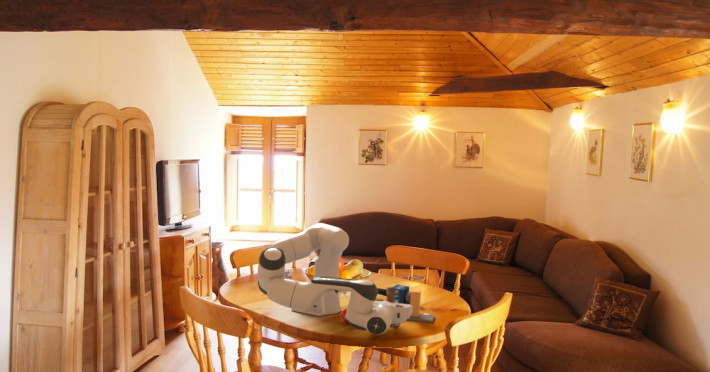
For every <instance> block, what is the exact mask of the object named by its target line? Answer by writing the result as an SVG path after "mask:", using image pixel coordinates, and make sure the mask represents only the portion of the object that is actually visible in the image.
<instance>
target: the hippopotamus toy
mask: <svg viewBox="0 0 710 372" xmlns="http://www.w3.org/2000/svg"><path fill="white" fill-rule="evenodd" d="M285 276H286V277H287V278H289V279H293V278H292V277H293V274H292V273H290V270H289V269H285Z"/></svg>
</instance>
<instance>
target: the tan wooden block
mask: <svg viewBox="0 0 710 372" xmlns="http://www.w3.org/2000/svg"><path fill="white" fill-rule="evenodd" d="M410 291H411V295H410V303H409V304H410V305H412V307H413V308H412V315H411V316H412V317H419V315H420V313H421V297H422V294H421V293H422V290H421V289H416V288H415V289H414V288H412V289H411V290H410Z"/></svg>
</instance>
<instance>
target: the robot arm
mask: <svg viewBox="0 0 710 372" xmlns="http://www.w3.org/2000/svg"><path fill="white" fill-rule="evenodd" d="M349 242H350V238H349V235H348V233H347V232H346V231H345V230H343V229H342V228H341V227H338V226H335V225H332V224H327V223H324V222H317V223H316V222H315V223H313V224H311V225H310V226H309V227H308V228H306V229H305V230H303V231H301V232H298V233H295V234H293V235H292V234H291V235H288V236H285V237H282V238H279V239H277V240H275V241H273V242H271V243H269V244H267V245H266V246H265V248H264V250H262V251H261V253H260V255H259V257H258V264H257V286H258V289H259V290H260V292H261V293H262V294H264V295H266V296H267V298H268V299H269V300H270V301H271V302H273V303H276V304H278V305H279V306H282V307H285V308H288V309H291V311H293V312H296V313H297V312H298V313H302V314H307V315H313V316H317V317H322V316H326V315H334V314H338V313H340V312H342V307H341V303H340V291H343V292H350V296H349V300H348V304H347V306H346V307H347V308H346V309H347V311H346V315H345V318H346V320H347V324H349V325H350V326H351V327H352V328H354V329H356V330H359V331H364V332H365V331H367V332H369V334H371V335H374V336H380V335H383V334H384V333H386V332H387V331H388V330H389V328H390V327H391V326H390V325H391V324H395V323H399V324H405V323H406V322H407V320H406V319H408V318H410V316H411V315H412V308H413V307H412V305H410V303H409V304H408V303H406V304H401V303H398V302H395V301H394V303H392V302H388V301H387V299H385V300H382V301H380V300H376V299H377V296H378V295H379V294H378V289H377V288H378V287H377V285H376V284H375V282H374V281H372V280H369V279H359V278H357V279H354V278H353V279H352V278H341V277H339V274H340V271H339V270H340V261H341V258H342V255H343V253H344V251H345V250H346V249H347V248H348V246H349V244H350V243H349ZM317 250H320V251H319V255H318V258H316V260H315V261H314V267H313V268H314V269H313V270H314V271H313V273H314V274H313V277H311V279H309V280H307V281H306V280H305V281H304V280H303V281H302V280H297V279H294V278H292V279H289V278H287V277H286V276H285V270H286V265H287V264H290V263H294V262H296V261H300V260H303V259H305V258H309V257H310V256H311V254H312V253H313V252H315V251H317Z"/></svg>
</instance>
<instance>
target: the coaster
mask: <svg viewBox="0 0 710 372" xmlns="http://www.w3.org/2000/svg"><path fill="white" fill-rule="evenodd" d="M399 325H400V323H395V324H391V325H390V327H393V328H398V326H399Z"/></svg>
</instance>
